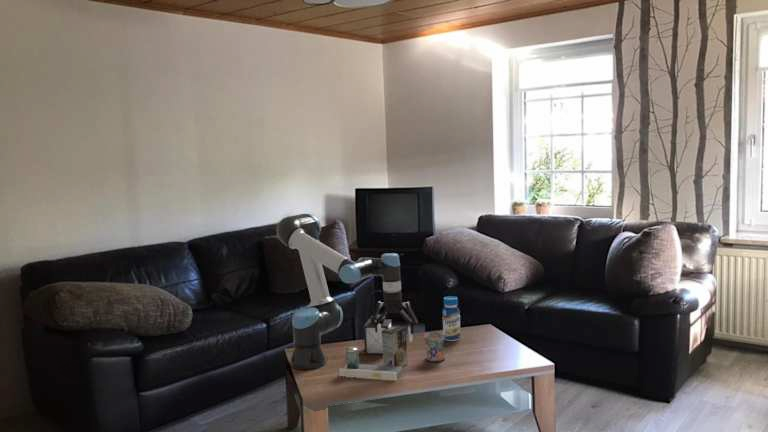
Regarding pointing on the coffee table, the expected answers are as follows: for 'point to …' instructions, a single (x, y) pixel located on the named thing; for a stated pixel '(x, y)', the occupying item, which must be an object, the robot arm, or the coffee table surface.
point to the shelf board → (372, 372)
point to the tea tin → (352, 357)
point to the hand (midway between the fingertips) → (395, 340)
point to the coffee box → (394, 346)
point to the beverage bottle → (451, 319)
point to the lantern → (374, 335)
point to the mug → (434, 346)
